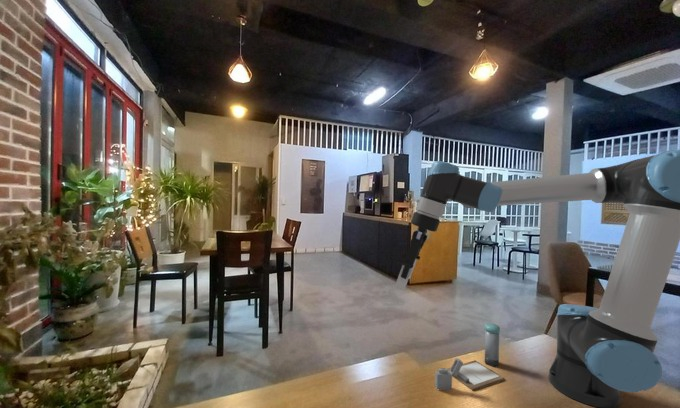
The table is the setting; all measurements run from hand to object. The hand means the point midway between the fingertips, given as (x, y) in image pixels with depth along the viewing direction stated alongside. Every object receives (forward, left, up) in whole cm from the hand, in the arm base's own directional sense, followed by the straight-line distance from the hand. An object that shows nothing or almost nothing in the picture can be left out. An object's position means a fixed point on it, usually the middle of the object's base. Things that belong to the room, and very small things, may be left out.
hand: (402, 282), depth 83 cm
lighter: (-10, -9, -28) cm, 31 cm away
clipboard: (-8, -21, -28) cm, 35 cm away
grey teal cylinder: (-6, -32, -28) cm, 42 cm away
